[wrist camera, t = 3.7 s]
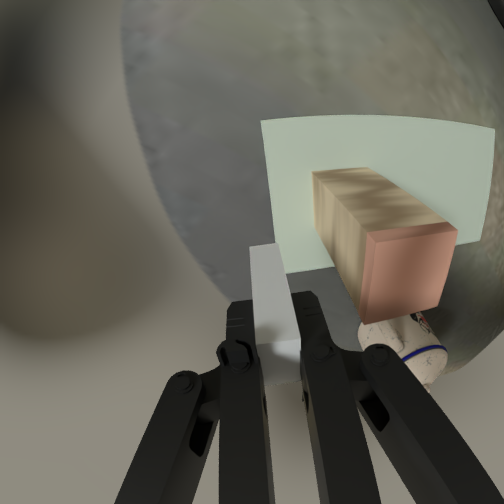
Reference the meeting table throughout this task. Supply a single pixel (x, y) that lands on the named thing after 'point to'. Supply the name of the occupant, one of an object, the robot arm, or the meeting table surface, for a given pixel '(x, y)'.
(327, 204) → the oak block
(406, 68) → the meeting table surface
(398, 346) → the teacup with lid
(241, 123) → the meeting table surface
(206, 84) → the meeting table surface
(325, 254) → the rubber mat
